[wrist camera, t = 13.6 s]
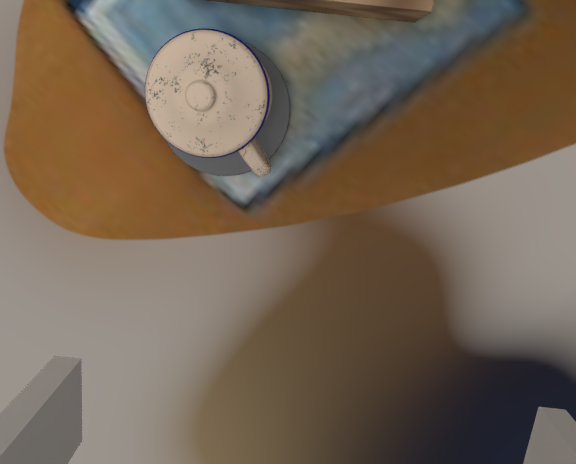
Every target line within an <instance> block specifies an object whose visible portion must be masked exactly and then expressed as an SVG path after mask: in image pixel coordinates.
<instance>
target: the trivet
mask: <svg viewBox="0 0 576 464" xmlns="http://www.w3.org/2000/svg"><path fill="white" fill-rule="evenodd" d="M245 44H246V43H245ZM246 45H247V46H248V47H249V48H250V49H251V50H252V51H253V52H254V53H255V54H256V56H257V57H258V59H259V60H260V62H261V63H262V65H263V66H264V68H265V69H266V71H267V73H268V76H269V78H270V82H271V86H272V104H271V109H270V112H269V115H268V117H267V119H266V121H265V122H264V124H263V126H262V128H261V129H260V131H259V133H258V134H257V135H256V138H257V140H258V142H259V143H260V145H261V146H262V148H263V150H264V152H265V153H266V155H267V157H268V159H269V158H270V157H271V156H272V155H273V154H274V152H275V151H276V150H277V149H278V147H279V145H280V144H281V142H282V140H283V138H284V136H285V133H286V130H287V127H288V123H289V117H290V103H289V96H288V91H287V88H286V85H285V82H284V80H283V78H282V76H281V74H280V72H279V71H278V69H277V68H276V66H275V65H274V64H273V63H272V62H271V61H270V59H269V58H268V57H266V56H265V55H264V54H263V53H262V52H261V51H259V50H257V49H256V48H254V47H253V46H251V45H249V44H246ZM166 141H167V140H166ZM167 143H168V145H169V146H170V147H171V149H172V150H173V151H174V153H175V154H176V155H177V156H178V157H179V158H180V159H182V160H183V161H184V162H185V163H187V164H188V165H190V166H192V167H193V168H195V169H197V170H199V171H202V172H205V173H208V174H212V175H218V176H231V175H238V174H243V173H246V172H248V171H251V169H250V168H249V166H248V165H247V164H246V162H245V161H244V159H243V158H242V156H241V155H240V153H239V152H238V151H237V152H235V153H233V154H230V155H227V156H224V157H219V158H201V157H196V156H192V155H189V154H187V153H184V152H182V151H180V150H179V149H177V148H175V147H174V146H173V145H171V144H170V143H169V142H168V141H167Z"/></svg>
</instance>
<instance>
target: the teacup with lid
mask: <svg viewBox="0 0 576 464" xmlns="http://www.w3.org/2000/svg"><path fill="white" fill-rule="evenodd" d="M145 99H146V105H147V109H148V112H149V115H150V118H151V120H152V122H153V124H154V125H155V127H156V129H157V130H158V131H159V133H160V134H161V135H162V136H163V137H164V139H165V140H167V141H168V142H169V143H170V144H171V145H173V146H174V147H175V148H177V149H179V150H180V151H182V152H184V153H187V154H189V155H192V156H196V157H201V158H219V157H224V156H227V155H230V154H233V153H235V152H237V151H238V152H239V153H240V155H241V156H242V158H243V159H244V161H245V162H246V164H247V165H248V166H249V168H250V169H251V170H252V171H253V172H254V173H255V174H256V175H257V176H259V177H263V176H265V175H266V174H268V173H269V172H270V170H271V165H270V162H269V160H268V157H267V155H266V153H265V152H264V150H263V148H262V146H261V145H260V143H259V142H258V140H257V138H256V135H257V134H258V133H259V131H260V129H261V128H262V126H263V124H264V122H265V121H266V119H267V117H268V115H269V112H270V109H271V104H272V86H271V82H270V78H269V76H268V73H267V71H266V69H265V68H264V66H263V65H262V63H261V62H260V60H259V59H258V57H257V56H256V54H255V53H254V52H253V51H252V50H251V49H250V48H249V47H248V46H247V45H246V44H245V43H244V42H242V41H241V40H240V39H238V38H237V37H235V36H233V35H231V34H229V33H226V32H223V31H220V30H215V29H194V30H190V31H186V32H183V33H181V34H179V35H177V36H175V37H173V38H172V39H170V40H169V41H168V42H167V43H165V44H164V45H163V46H162V47H161V48H160V50H159V51H158V52H157V53H156V55H155V57H154V58H153V60H152V62H151V64H150V67H149V69H148V72H147V76H146V82H145Z"/></svg>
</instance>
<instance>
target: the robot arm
mask: <svg viewBox="0 0 576 464" xmlns="http://www.w3.org/2000/svg"><path fill="white" fill-rule="evenodd" d="M81 384H82V376H81V359H79V358H69V357H60V356H54V357H53V358H52V359H51V360H50V361H49V362H48V363H47V365H46V366H45V367H44V368H43V369H42V370H41V371H40V372H39V373H38V374H37V375H36V376H35V377H34V378H33V379H32V381H31V382H30V383H29V384H28V385H27V386H26V387H25V388H24V389H23V390H22V391H21V392H20V393H19V394H18V395H17V396H16V397H15V398H14V400H13V401H12V402H11V403H10V404H9V405H8V406H7V407H6V408H5V409H4V410H3V411H2V412H1V413H0V464H68V462H69V460H70V459H71V457H72V456H73V454H74V453H75V451H76V449H77V448H78V446H79V445H80V443H81V442H82V388H81V387H82V385H81ZM523 464H576V422H575V421H574V420H573V418H572V417H571V416H570V415H569V413H568V412H567V411H566V410H563V409H554V408H544V407H539V408H538V412H537V415H536V419H535V423H534V426H533V430H532V434H531V437H530V441H529V445H528V448H527V452H526V456H525V460H524V463H523Z"/></svg>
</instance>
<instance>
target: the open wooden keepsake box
mask: <svg viewBox="0 0 576 464" xmlns="http://www.w3.org/2000/svg"><path fill="white" fill-rule="evenodd" d="M208 1H217V2H227V3H236V4H246V5H255V6H265V7H274V8H283V9H293V10H302V11H312V12H321V13H331V14H340V15H349V16H359V17H368V18H378V19H387V20H397V21H406V22H416V21H418V20H419V19H421V18H422V17H424V16H426V15H427V14H429V13H430V12H432V8H433V2H434V0H208Z"/></svg>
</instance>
